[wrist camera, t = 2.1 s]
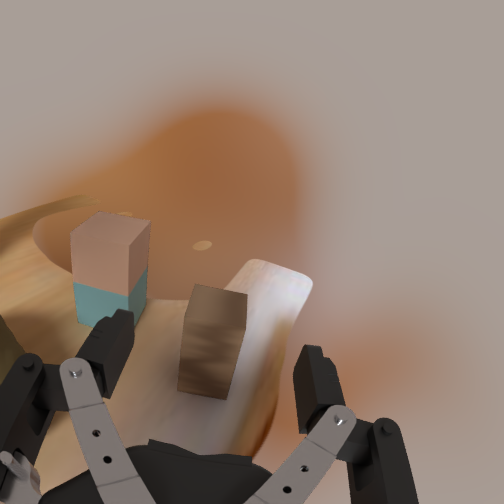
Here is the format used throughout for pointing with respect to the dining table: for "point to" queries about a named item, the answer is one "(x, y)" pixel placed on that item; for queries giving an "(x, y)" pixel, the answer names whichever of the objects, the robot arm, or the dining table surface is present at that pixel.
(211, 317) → the pillar
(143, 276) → the tower base
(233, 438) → the dining table surface
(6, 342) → the decorative stone
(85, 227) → the tower top
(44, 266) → the dining table surface
